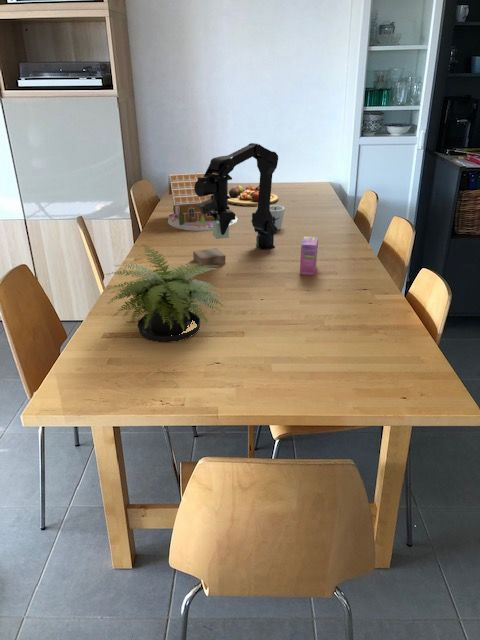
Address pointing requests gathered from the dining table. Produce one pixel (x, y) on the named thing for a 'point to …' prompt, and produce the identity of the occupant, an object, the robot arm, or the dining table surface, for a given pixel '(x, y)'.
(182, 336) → the fern plant
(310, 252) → the box
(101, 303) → the dining table surface
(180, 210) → the gingerbread house
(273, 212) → the white cup
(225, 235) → the green block
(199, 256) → the walnut base
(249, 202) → the wooden plate with food
